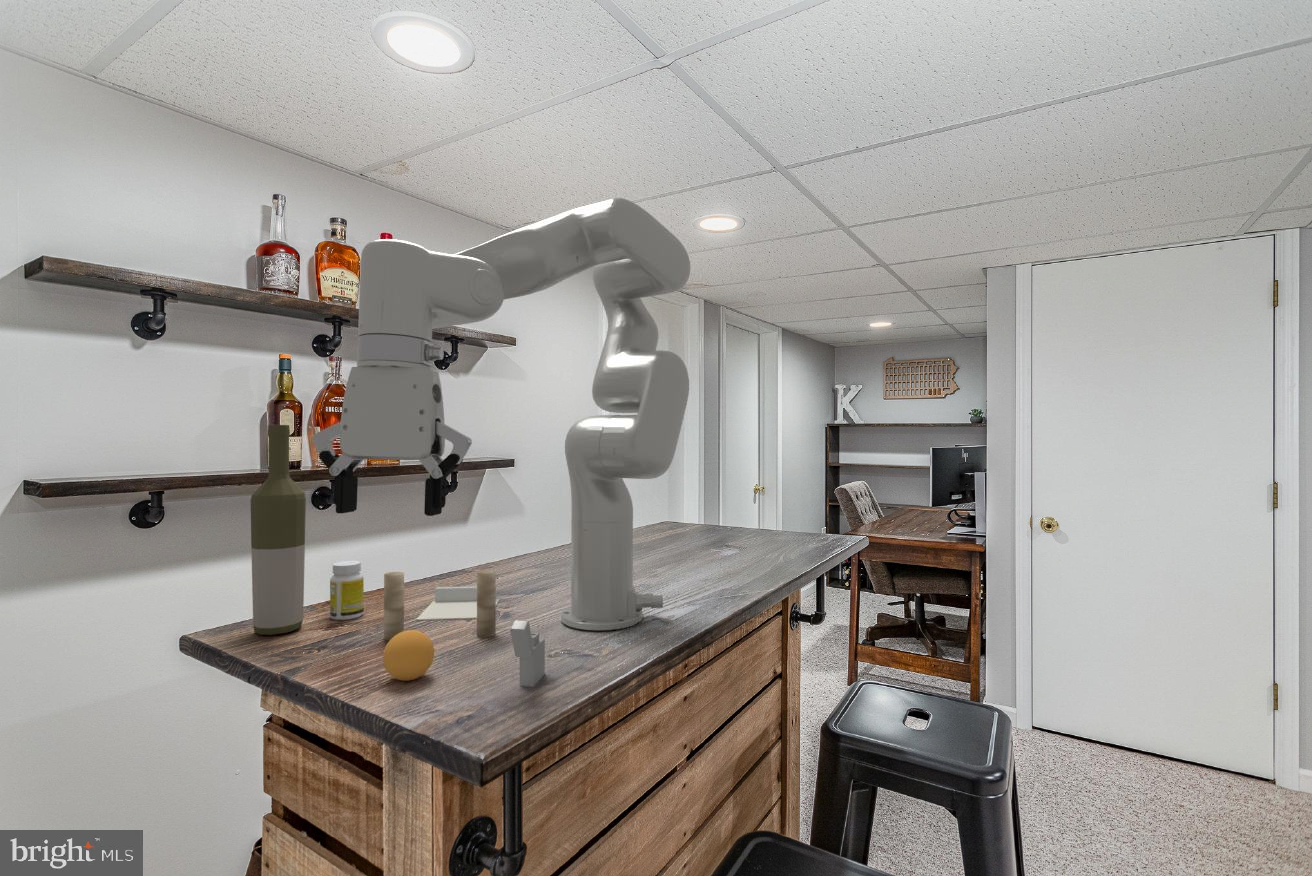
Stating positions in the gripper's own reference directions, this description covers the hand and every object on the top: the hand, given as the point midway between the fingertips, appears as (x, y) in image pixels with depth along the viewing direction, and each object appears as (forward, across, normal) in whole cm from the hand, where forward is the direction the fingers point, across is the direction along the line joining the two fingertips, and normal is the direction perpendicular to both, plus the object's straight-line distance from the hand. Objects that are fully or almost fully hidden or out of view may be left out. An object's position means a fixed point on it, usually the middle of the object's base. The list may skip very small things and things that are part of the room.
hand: (389, 513), depth 69 cm
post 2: (+19, -4, -22) cm, 30 cm away
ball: (+17, 0, -6) cm, 18 cm away
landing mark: (+19, +4, -35) cm, 40 cm away
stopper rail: (+19, +5, -40) cm, 45 cm away
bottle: (+20, +26, -23) cm, 40 cm away
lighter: (+20, -15, -5) cm, 25 cm away
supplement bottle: (+20, +21, -31) cm, 42 cm away
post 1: (+20, +8, -20) cm, 29 cm away
